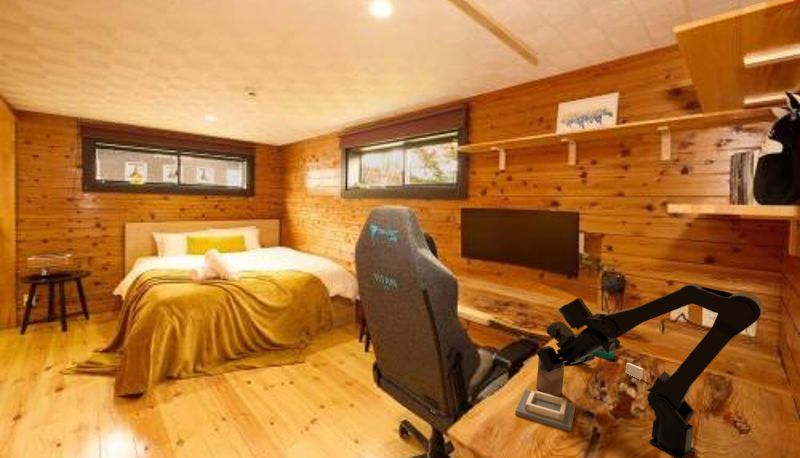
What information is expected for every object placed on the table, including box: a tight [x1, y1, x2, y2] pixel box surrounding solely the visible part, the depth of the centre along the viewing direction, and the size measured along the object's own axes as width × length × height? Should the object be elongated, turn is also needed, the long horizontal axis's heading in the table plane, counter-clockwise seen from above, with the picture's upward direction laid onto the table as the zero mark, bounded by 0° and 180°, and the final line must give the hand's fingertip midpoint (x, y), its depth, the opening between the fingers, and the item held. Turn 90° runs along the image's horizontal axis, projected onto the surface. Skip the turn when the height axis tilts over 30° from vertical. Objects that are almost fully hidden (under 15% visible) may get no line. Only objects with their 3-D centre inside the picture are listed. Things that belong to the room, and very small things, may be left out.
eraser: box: [625, 362, 644, 381], centre depth 123 cm, size 1×5×4 cm, turn 24°
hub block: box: [535, 357, 565, 396], centre depth 110 cm, size 5×5×10 cm
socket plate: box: [514, 389, 576, 432], centre depth 99 cm, size 13×13×2 cm
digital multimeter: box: [593, 347, 616, 361], centre depth 143 cm, size 7×15×3 cm, turn 54°
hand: (546, 366), depth 111 cm, fingers closed on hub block, 5 cm apart
